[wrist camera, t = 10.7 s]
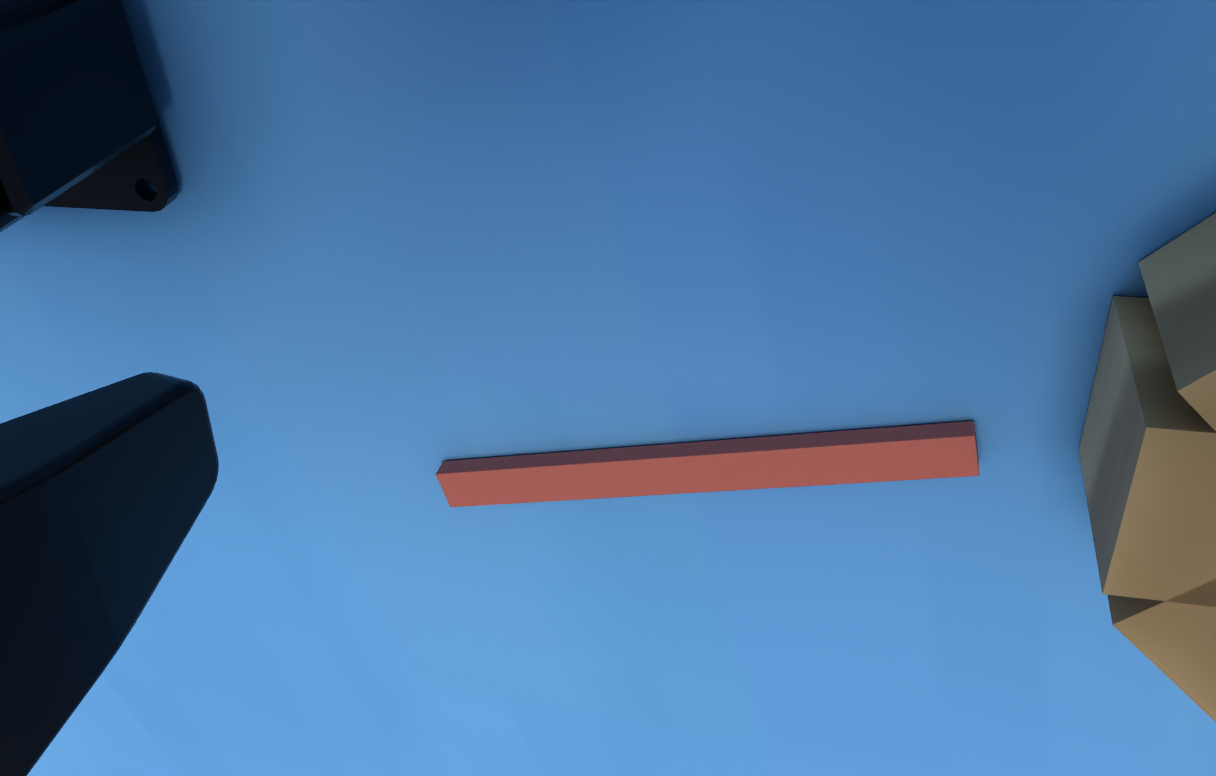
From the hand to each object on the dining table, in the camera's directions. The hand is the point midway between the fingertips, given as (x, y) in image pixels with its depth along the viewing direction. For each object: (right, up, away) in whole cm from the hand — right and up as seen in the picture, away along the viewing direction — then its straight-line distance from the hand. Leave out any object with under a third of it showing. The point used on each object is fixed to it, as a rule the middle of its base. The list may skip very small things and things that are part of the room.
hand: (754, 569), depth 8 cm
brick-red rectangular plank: (+1, 0, +16) cm, 16 cm away
